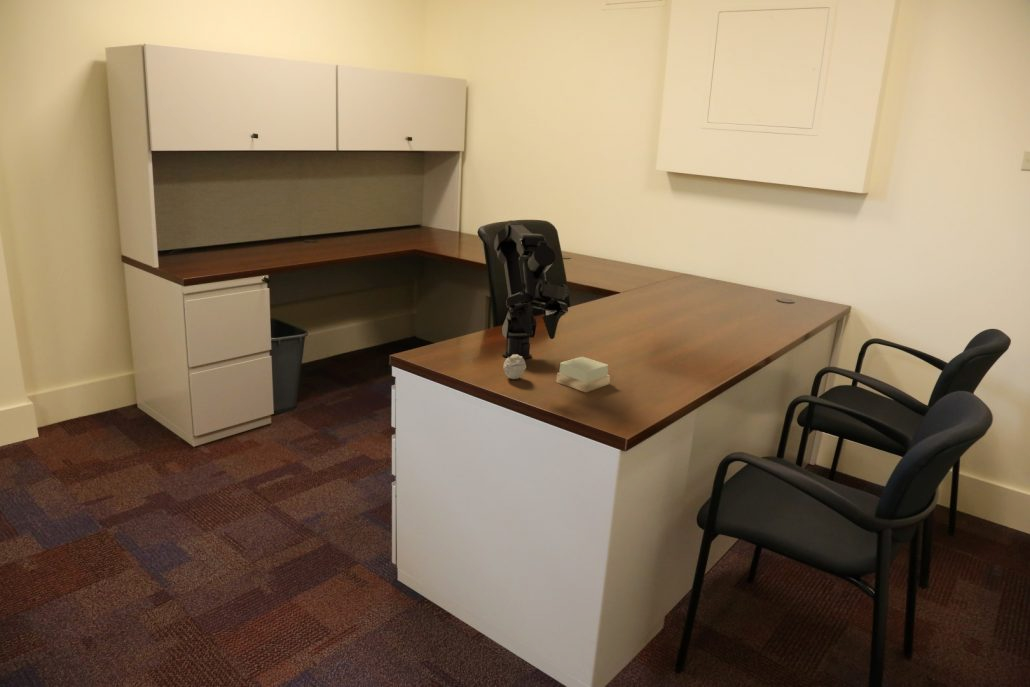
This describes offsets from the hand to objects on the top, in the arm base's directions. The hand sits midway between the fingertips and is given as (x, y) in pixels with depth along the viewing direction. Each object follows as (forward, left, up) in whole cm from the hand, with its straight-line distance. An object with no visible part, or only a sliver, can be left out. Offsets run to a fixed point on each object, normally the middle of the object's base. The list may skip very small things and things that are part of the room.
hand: (541, 336), depth 187 cm
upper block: (+8, +9, -10) cm, 16 cm away
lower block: (+8, +9, -13) cm, 18 cm away
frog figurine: (-6, -3, -13) cm, 15 cm away
